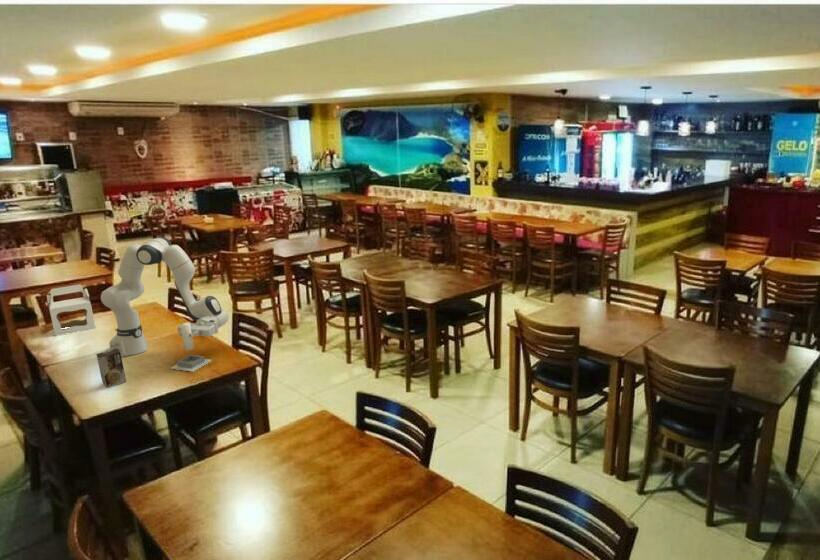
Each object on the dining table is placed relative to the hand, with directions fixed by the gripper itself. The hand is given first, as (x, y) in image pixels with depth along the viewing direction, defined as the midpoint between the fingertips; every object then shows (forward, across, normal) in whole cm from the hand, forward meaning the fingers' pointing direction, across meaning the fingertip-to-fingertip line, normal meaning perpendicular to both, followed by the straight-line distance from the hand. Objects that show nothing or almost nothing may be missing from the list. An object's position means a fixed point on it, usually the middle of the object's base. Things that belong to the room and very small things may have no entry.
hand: (185, 335), depth 281 cm
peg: (-1, 0, +8) cm, 8 cm away
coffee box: (+27, -22, +17) cm, 39 cm away
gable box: (-25, -114, +17) cm, 118 cm away
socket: (-1, 0, +17) cm, 17 cm away
